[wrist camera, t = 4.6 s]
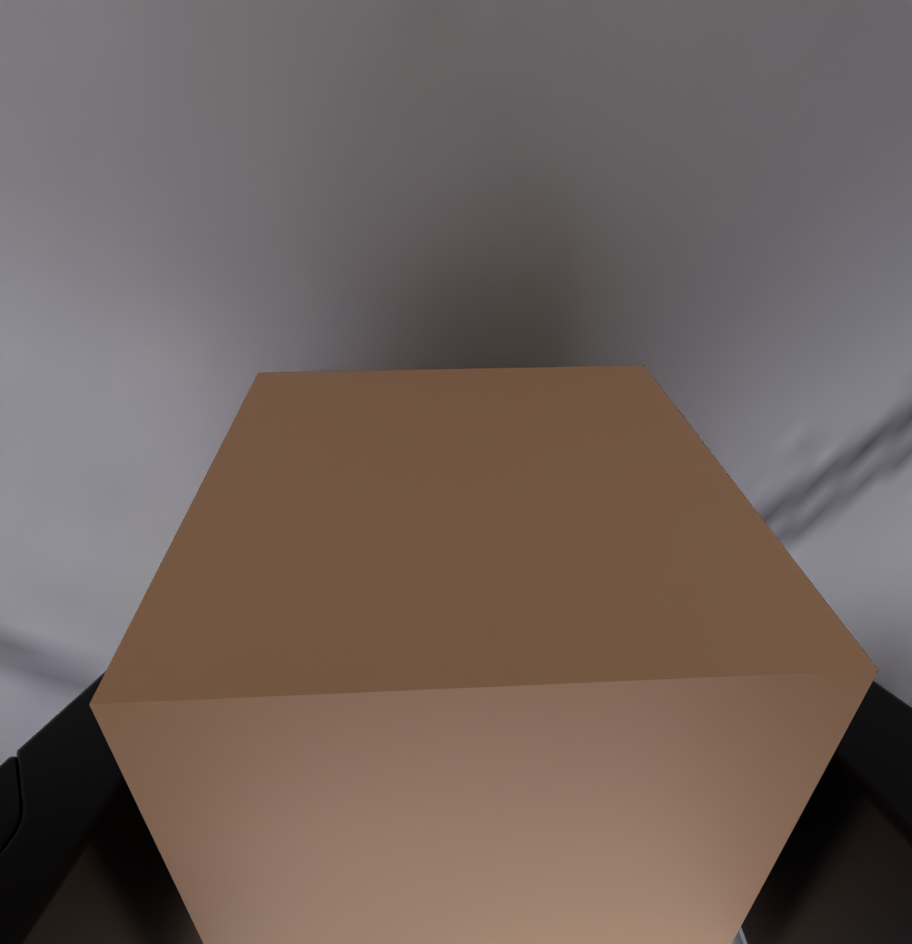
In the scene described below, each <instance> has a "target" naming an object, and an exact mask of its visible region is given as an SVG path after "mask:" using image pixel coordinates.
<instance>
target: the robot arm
mask: <svg viewBox="0 0 912 944" xmlns="http://www.w3.org/2000/svg"><path fill="white" fill-rule="evenodd" d="M105 672H106V671H105ZM105 672H104V673H103V674H102V675H101V676H100V677H99V678H98V679H97V680H95V681H94V682H93V683H92V684H91V685H90V686H89V687H88V688H87V689H85V690H84V691H83V692H82V693H81V694H80V695H79V696H78V697H76V698H75V699H74V700H73V701H72V702H71V703H70V704H69V705H68V706H66V707H65V708H64V709H63V710H62V711H61V712H60V713H59V714H58V715H56V716H55V717H54V718H53V719H52V720H51V721H50V722H49V723H48V724H46V725H45V726H44V727H43V728H42V729H41V730H40V731H39V732H38V733H36V734H35V735H34V736H33V737H32V738H31V739H30V740H29V741H28V742H26V743H25V744H24V745H23V746H22V747H21V748H20V749H19V750H18V751H17V757H14V756H13V757H10V758H8V759H7V760H6V761H5V762H4V763H3V764H2V765H0V944H203V942H202V940H201V937H200V935H199V933H198V931H197V929H196V927H195V925H194V923H193V921H192V919H191V917H190V914H189V912H188V910H187V908H186V906H185V904H184V902H183V900H182V898H181V896H180V893H179V891H178V889H177V887H176V885H175V883H174V881H173V879H172V877H171V875H170V873H169V870H168V868H167V866H166V864H165V862H164V860H163V858H162V856H161V854H160V852H159V850H158V847H157V845H156V843H155V841H154V839H153V837H152V835H151V833H150V831H149V829H148V827H147V824H146V822H145V820H144V818H143V816H142V814H141V812H140V810H139V808H138V806H137V803H136V801H135V799H134V797H133V795H132V793H131V791H130V789H129V787H128V785H127V783H126V780H125V778H124V776H123V774H122V772H121V770H120V768H119V766H118V764H117V762H116V760H115V757H114V755H113V753H112V751H111V749H110V747H109V745H108V743H107V741H106V739H105V736H104V734H103V732H102V730H101V728H100V726H99V724H98V722H97V720H96V718H95V716H94V713H93V711H92V709H91V707H90V705H89V704H90V702H91V700H92V698H93V696H94V694H95V692H96V690H97V688H98V686H99V684H100V682H101V680H102V678H103V676H104V674H105ZM741 928H742V931H743V934H744V936H745V939H746V942H747V944H912V707H910V706H909V705H907V704H906V703H905V702H903V701H902V700H900V699H899V698H897V697H896V696H895V695H893V694H892V693H890V692H889V691H888V690H886V689H885V688H883V687H882V686H880V685H879V684H878V683H876V682H875V681H872V683H871V685H870V687H869V689H868V691H867V693H866V694H865V696H864V698H863V700H862V702H861V704H860V706H859V708H858V709H857V711H856V713H855V715H854V717H853V719H852V721H851V722H850V724H849V726H848V728H847V730H846V732H845V734H844V735H843V737H842V739H841V741H840V743H839V745H838V747H837V748H836V750H835V752H834V754H833V756H832V758H831V760H830V761H829V763H828V765H827V767H826V769H825V771H824V773H823V775H822V776H821V778H820V780H819V782H818V784H817V786H816V788H815V789H814V791H813V793H812V795H811V797H810V799H809V801H808V802H807V804H806V806H805V808H804V810H803V812H802V814H801V815H800V817H799V819H798V821H797V823H796V825H795V827H794V828H793V830H792V832H791V834H790V836H789V838H788V840H787V842H786V843H785V845H784V847H783V849H782V851H781V853H780V855H779V856H778V858H777V860H776V862H775V864H774V866H773V868H772V869H771V871H770V873H769V875H768V877H767V879H766V881H765V882H764V884H763V886H762V888H761V890H760V892H759V894H758V895H757V897H756V899H755V901H754V903H753V905H752V907H751V909H750V910H749V912H748V914H747V916H746V918H745V920H744V922H743V923H742V925H741Z"/></svg>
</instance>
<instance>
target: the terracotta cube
mask: <svg viewBox="0 0 912 944" xmlns="http://www.w3.org/2000/svg"><path fill="white" fill-rule="evenodd" d="M877 672H878V668H877V667H876V666H875V664H874V663H873V662H872V661H871V659H870V658H869V657H868V655H867V654H866V653H865V652H864V650H863V649H862V648H861V646H860V645H859V644H858V642H857V641H856V640H855V639H854V637H853V636H852V635H851V633H850V632H849V631H848V629H847V628H846V627H845V626H844V624H843V623H842V622H841V620H840V619H839V618H838V616H837V615H836V614H835V613H834V611H833V610H832V609H831V607H830V606H829V605H828V603H827V602H826V601H825V600H824V598H823V597H822V596H821V594H820V593H819V592H818V590H817V589H816V588H815V587H814V585H813V584H812V583H811V581H810V580H809V579H808V578H807V576H806V575H805V574H804V572H803V571H802V570H801V568H800V567H799V566H798V565H797V563H796V562H795V561H794V559H793V558H792V557H791V555H790V554H789V553H788V552H787V550H786V549H785V548H784V546H783V545H782V544H781V542H780V541H779V540H778V539H777V537H776V536H775V535H774V533H773V532H772V531H771V529H770V528H769V527H768V526H767V524H766V523H765V522H764V520H763V519H762V518H761V516H760V515H759V514H758V513H757V511H756V510H755V509H754V507H753V506H752V505H751V503H750V502H749V501H748V500H747V498H746V497H745V496H744V494H743V493H742V492H741V491H740V489H739V488H738V487H737V485H736V484H735V483H734V481H733V480H732V479H731V478H730V476H729V475H728V474H727V472H726V471H725V470H724V468H723V467H722V466H721V465H720V463H719V462H718V461H717V459H716V458H715V457H714V455H713V454H712V453H711V452H710V450H709V449H708V448H707V446H706V445H705V444H704V442H703V441H702V440H701V439H700V437H699V436H698V435H697V433H696V432H695V431H694V429H693V428H692V427H691V426H690V424H689V423H688V422H687V420H686V419H685V418H684V417H683V415H682V414H681V413H680V411H679V410H678V409H677V407H676V406H675V405H674V404H673V402H672V401H671V400H670V398H669V397H668V396H667V394H666V393H665V392H664V391H663V389H662V388H661V387H660V385H659V384H658V383H657V381H656V380H655V379H654V378H653V376H652V375H651V374H650V372H649V371H648V370H647V368H646V367H645V366H644V365H633V366H581V367H529V368H477V369H424V370H372V371H320V372H268V373H258V374H257V376H256V378H255V380H254V382H253V384H252V386H251V388H250V390H249V392H248V394H247V396H246V398H245V400H244V402H243V404H242V406H241V408H240V410H239V411H238V413H237V415H236V417H235V419H234V421H233V423H232V425H231V427H230V429H229V431H228V433H227V435H226V437H225V439H224V441H223V443H222V445H221V447H220V449H219V451H218V453H217V455H216V457H215V459H214V461H213V463H212V464H211V466H210V468H209V470H208V472H207V474H206V476H205V478H204V480H203V482H202V484H201V486H200V488H199V490H198V492H197V494H196V496H195V498H194V500H193V502H192V504H191V506H190V508H189V510H188V512H187V514H186V515H185V517H184V519H183V521H182V523H181V525H180V527H179V529H178V531H177V533H176V535H175V537H174V539H173V541H172V543H171V545H170V547H169V549H168V551H167V553H166V555H165V557H164V559H163V561H162V563H161V565H160V567H159V568H158V570H157V572H156V574H155V576H154V578H153V580H152V582H151V584H150V586H149V588H148V590H147V592H146V594H145V596H144V598H143V600H142V602H141V604H140V606H139V608H138V610H137V612H136V614H135V616H134V618H133V620H132V621H131V623H130V625H129V627H128V629H127V631H126V633H125V635H124V637H123V639H122V641H121V643H120V645H119V647H118V649H117V651H116V653H115V655H114V657H113V659H112V661H111V663H110V665H109V667H108V669H107V671H106V672H105V674H104V676H103V678H102V680H101V682H100V684H99V686H98V688H97V690H96V692H95V694H94V696H93V698H92V700H91V702H90V704H89V705H90V707H91V709H92V711H93V713H94V716H95V718H96V720H97V722H98V724H99V726H100V728H101V730H102V732H103V734H104V736H105V739H106V741H107V743H108V745H109V747H110V749H111V751H112V753H113V755H114V757H115V760H116V762H117V764H118V766H119V768H120V770H121V772H122V774H123V776H124V778H125V780H126V783H127V785H128V787H129V789H130V791H131V793H132V795H133V797H134V799H135V801H136V803H137V806H138V808H139V810H140V812H141V814H142V816H143V818H144V820H145V822H146V824H147V827H148V829H149V831H150V833H151V835H152V837H153V839H154V841H155V843H156V845H157V847H158V850H159V852H160V854H161V856H162V858H163V860H164V862H165V864H166V866H167V868H168V870H169V873H170V875H171V877H172V879H173V881H174V883H175V885H176V887H177V889H178V891H179V893H180V896H181V898H182V900H183V902H184V904H185V906H186V908H187V910H188V912H189V914H190V917H191V919H192V921H193V923H194V925H195V927H196V929H197V931H198V933H199V935H200V937H201V940H202V942H203V944H732V942H733V940H734V938H735V936H736V935H737V933H738V931H739V929H740V927H741V925H742V923H743V922H744V920H745V918H746V916H747V914H748V912H749V910H750V909H751V907H752V905H753V903H754V901H755V899H756V897H757V895H758V894H759V892H760V890H761V888H762V886H763V884H764V882H765V881H766V879H767V877H768V875H769V873H770V871H771V869H772V868H773V866H774V864H775V862H776V860H777V858H778V856H779V855H780V853H781V851H782V849H783V847H784V845H785V843H786V842H787V840H788V838H789V836H790V834H791V832H792V830H793V828H794V827H795V825H796V823H797V821H798V819H799V817H800V815H801V814H802V812H803V810H804V808H805V806H806V804H807V802H808V801H809V799H810V797H811V795H812V793H813V791H814V789H815V788H816V786H817V784H818V782H819V780H820V778H821V776H822V775H823V773H824V771H825V769H826V767H827V765H828V763H829V761H830V760H831V758H832V756H833V754H834V752H835V750H836V748H837V747H838V745H839V743H840V741H841V739H842V737H843V735H844V734H845V732H846V730H847V728H848V726H849V724H850V722H851V721H852V719H853V717H854V715H855V713H856V711H857V709H858V708H859V706H860V704H861V702H862V700H863V698H864V696H865V694H866V693H867V691H868V689H869V687H870V685H871V683H872V681H873V680H874V678H875V676H876V674H877Z"/></svg>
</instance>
